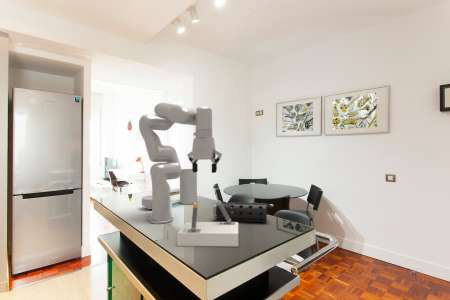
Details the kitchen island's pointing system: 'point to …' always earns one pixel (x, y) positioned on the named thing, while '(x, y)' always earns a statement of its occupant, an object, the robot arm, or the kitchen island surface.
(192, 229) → the lever
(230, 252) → the kitchen island surface
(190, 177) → the cylinder vase
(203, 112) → the robot arm
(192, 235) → the panel
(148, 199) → the paper bowls
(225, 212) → the lever
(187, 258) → the kitchen island surface
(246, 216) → the muzzle brake
